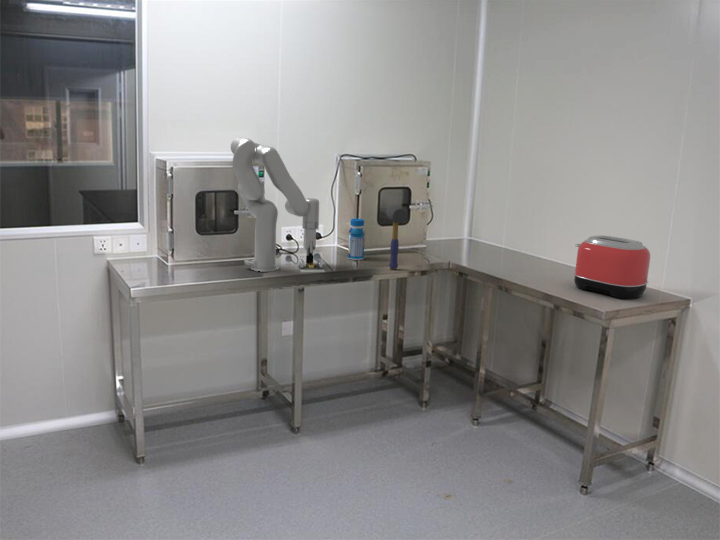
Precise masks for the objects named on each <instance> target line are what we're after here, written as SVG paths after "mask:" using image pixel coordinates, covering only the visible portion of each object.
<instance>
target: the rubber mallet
mask: <svg viewBox="0 0 720 540" xmlns="http://www.w3.org/2000/svg"><path fill="white" fill-rule="evenodd" d="M385 212H386V213H385V214H386V218H388V219H389V220H390V221H391V222H392V234H391V235H392V236H391V241H390V242H391V243H390V246H389V247H390V260H389V261H390V262H389V265H388V267H389V269H390V270H394V271H395V270H397V268H398V267H399V266H398V265H399V264H398V254H399V244H400V243H399V239H398V237H399V224H402V223H404V222H405V221H406V220H407V216H408V215H407V212H406V210H405V209H404V208H402V207H401V206H398V205H394V204H393V205H390V206H388V207H387V208H386V211H385Z"/></svg>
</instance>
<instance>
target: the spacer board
mask: <svg viewBox="0 0 720 540" xmlns="http://www.w3.org/2000/svg"><path fill="white" fill-rule="evenodd" d="M298 269H299V271H300V273H325V272H326V271H325V269H324V268H323V269H319V268H318V266H317V265H316V268H314V269H309V268H306V265H304V269H300V266H299V265H298Z"/></svg>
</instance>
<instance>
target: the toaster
mask: <svg viewBox="0 0 720 540" xmlns="http://www.w3.org/2000/svg"><path fill="white" fill-rule="evenodd" d="M574 246H575V247H576V248H577V247H578V248H577V255H576V261H575V271H574V272H573V276H574V278H573V282H574V285H575V286H576V288H578V289H579V290H587V291H594V292H596V293H602V294H607V295H610V296H612V297H614V298H619V299H621V300H628V299H634V298H635V299H636V298H640V297H642V296H643V295H644V293H645V291H646V289H647V285H648V284H649V281H648V276H649V269H650V263H651V252H650V250H649V249H648V247H646V246H645V245H644V244H643V242H641V241H639V240H635V239H628V238H625V237H624V238H623V237H617V236H611V235H610V236H609V235H593V236H589V237H588V239H585V240H584V241H582V242H581V243H577V244H575V245H574Z"/></svg>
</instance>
